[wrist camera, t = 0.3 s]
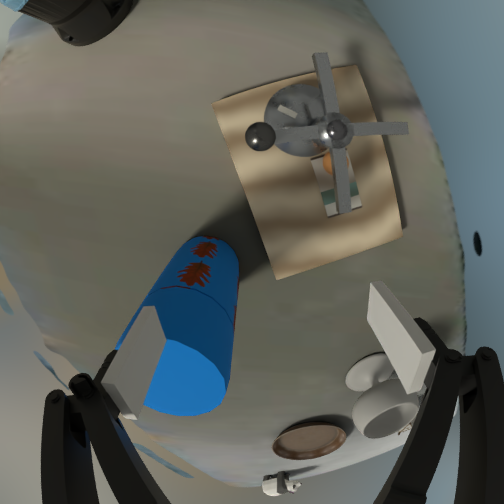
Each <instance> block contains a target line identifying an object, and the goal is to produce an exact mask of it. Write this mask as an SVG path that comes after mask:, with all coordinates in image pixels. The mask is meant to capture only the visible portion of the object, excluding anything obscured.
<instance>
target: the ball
mask: <svg viewBox="0 0 504 504" xmlns="http://www.w3.org/2000/svg"><path fill="white" fill-rule="evenodd" d="M346 158H347V156H346ZM347 166H348V167H349V160H348V158H347ZM323 167H324V169H325V171H326V172H327V173H328V174H330V175H332V176H333V174H332V166H331V158H330V151H329V152H327V153H326V154H325V156H324V157H323Z"/></svg>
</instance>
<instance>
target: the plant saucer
mask: <svg viewBox="0 0 504 504" xmlns="http://www.w3.org/2000/svg"><path fill="white" fill-rule="evenodd" d="M345 440H346V433H345V431H344V430H342V429H341V428H340V427H338V426H336V425H333V424H330V423H326V422H309V423H303V424H299V425H296V426H294V427H291V428H289V429H287V430H285V431H284V432H283V433H281V434H280V435H279V436H278V437H277V438H276V439H275V440H274V442H273V444H272V451H273V452H274V453H275V454H276V455H277V456H279V457H282V458H285V459H291V460H306V459H313V458H318V457H321V456H324V455H327V454H329V453H331V452H333V451H335V450H337V449H338V448H339V447H341V446H342V445H343V443H344V442H345Z"/></svg>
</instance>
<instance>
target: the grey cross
mask: <svg viewBox="0 0 504 504" xmlns="http://www.w3.org/2000/svg"><path fill="white" fill-rule="evenodd" d="M312 59H313V63H314V67H315V72H316V76H317V81H318V86H319V89H318V88H316V87H314V86H310V85H306V84H294V85H289V86H286V87H284V88H282V89H280V90H279V91H277V92H276V93H275V94H274V95H273V96H272V97H271V98H270V100H269V102H268V104H267V106H266V109H265V112H264V122H256V123H253V124H251V125H250V126H249V127H248V128H247V130H246V133H245V140H246V143H247V145H248V146H249V147H250V148H251V149H253V150H255V151H266V150H268V149H270V148H271V147H272V146H273V145H275V146H276V147H277V148H278V149H280V150H281V151H283V152H285V153H287V154H289V155H293V156H299V157H311V156H315V155H318V154H320V153H322V152H324V151H326V150H327V149H329V151H330V158H331V166H332V174H333V182H334V192H335V202H336V211H337V212H338V213H339V214H341V213H348V212H352V208H351V196H350V185H349V175H348V166H347V158H346V150H345V147H346V146H347V145H349V144H350V142H351V141H352V139H353V136H365V135H404V134H409V132H408V125H407V122H362V123H351V121H350V120H349V119H348V118H347V117H346V116H345V115H343V114H340V111H339V105H338V100H337V95H336V90H335V85H334V80H333V75H332V71H331V66H330V62H329V58H328V54H327V53H314V54H313V56H312Z"/></svg>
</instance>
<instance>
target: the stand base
mask: <svg viewBox="0 0 504 504" xmlns="http://www.w3.org/2000/svg"><path fill="white" fill-rule="evenodd" d="M331 71H332V75H333V80H334V85H335V90H336V95H337V100H338V105H339V111H340V114H343V115H345V116H346V117H347V118H348V119H349V120H350V121H351V123H362V122H377V119H376V116H375V113H374V110H373V107H372V104H371V101H370V99H369V96H368V93H367V90H366V88H365V85H364V82H363V80H362V77H361V75H360V72H359V70H358V67H357V65H352V66H345V67H340V68H334V69H331ZM294 84H306V85H310V86H314V87H316V88H318V89H319V86H318V81H317V76H316V72H314V73H310V74H305V75H301V76H297V77H293V78H289V79H285V80H281V81H278V82H274V83H271V84H267V85H264V86H261V87H257V88H254V89H251V90H248V91H245V92H242V93H239V94H236V95H233V96H230V97H227V98H225V99H222V100H219V101H217V102H214V103H211V104H212V107H213V109H214V112H215V114H216V117H217V120H218V122H219V125H220V127H221V130H222V133H223V135H224V138H225V141H226V143H227V146H228V149H229V151H230V154H231V157H232V159H233V162H234V165H235V167H236V170H237V173H238V175H239V178H240V181H241V183H242V186H243V189H244V191H245V194H246V197H247V200H248V202H249V205H250V208H251V210H252V213H253V216H254V219H255V221H256V224H257V227H258V230H259V232H260V235H261V238H262V241H263V243H264V246H265V249H266V252H267V254H268V257H269V260H270V263H271V266H272V268H273V271H274V274H275V277H276V280H279V279H282V278H285V277H288V276H291V275H294V274H297V273H300V272H303V271H306V270H309V269H312V268H315V267H318V266H321V265H324V264H327V263H330V262H333V261H336V260H339V259H342V258H345V257H348V256H350V255H353V254H356V253H359V252H362V251H365V250H367V249H370V248H373V247H376V246H379V245H381V244H384V243H387V242H390V241H392V240H395V239H398V238H400V237H403V235H402V228H401V221H400V215H399V209H398V204H397V199H396V193H395V189H394V184H393V179H392V175H391V170H390V166H389V162H388V158H387V154H386V150H385V147H384V143H383V140H382V136H381V135H365V136H353V139H352V141H351V142H350V144H349V145H347V146H346V147H345V150H346V156H347V158H348V160H349V167H348V175H349V185H350V196H351V208H352V212H348V213H341V214H339V213H338V212H337V211H336V202H335V192H334V182H333V176H332V175H330V174H328V173H327V172H326V171H325V169H324V167H323V157H324V156H325V154H326V153H327V152H329V149H327V150H326V151H324V152H322V153H320V154H318V155H315V156H311V157H299V156H293V155H289V154H287V153H285V152H283V151H281V150H280V149H278V148H277V147H276V146H275V145H273V146H272V147H271V148H270V149H268V150H266V151H255V150H253V149H251V148H250V147H249V146H248V145H247V143H246V140H245V133H246V130H247V128H248V127H249V126H250V125H251V124H253V123H256V122H264V112H265V109H266V106H267V104H268V102H269V100H270V98H271V97H272V96H273V95H274V94H275V93H276V92H277V91H279V90H280V89H282V88H284V87H286V86H289V85H294Z"/></svg>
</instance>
